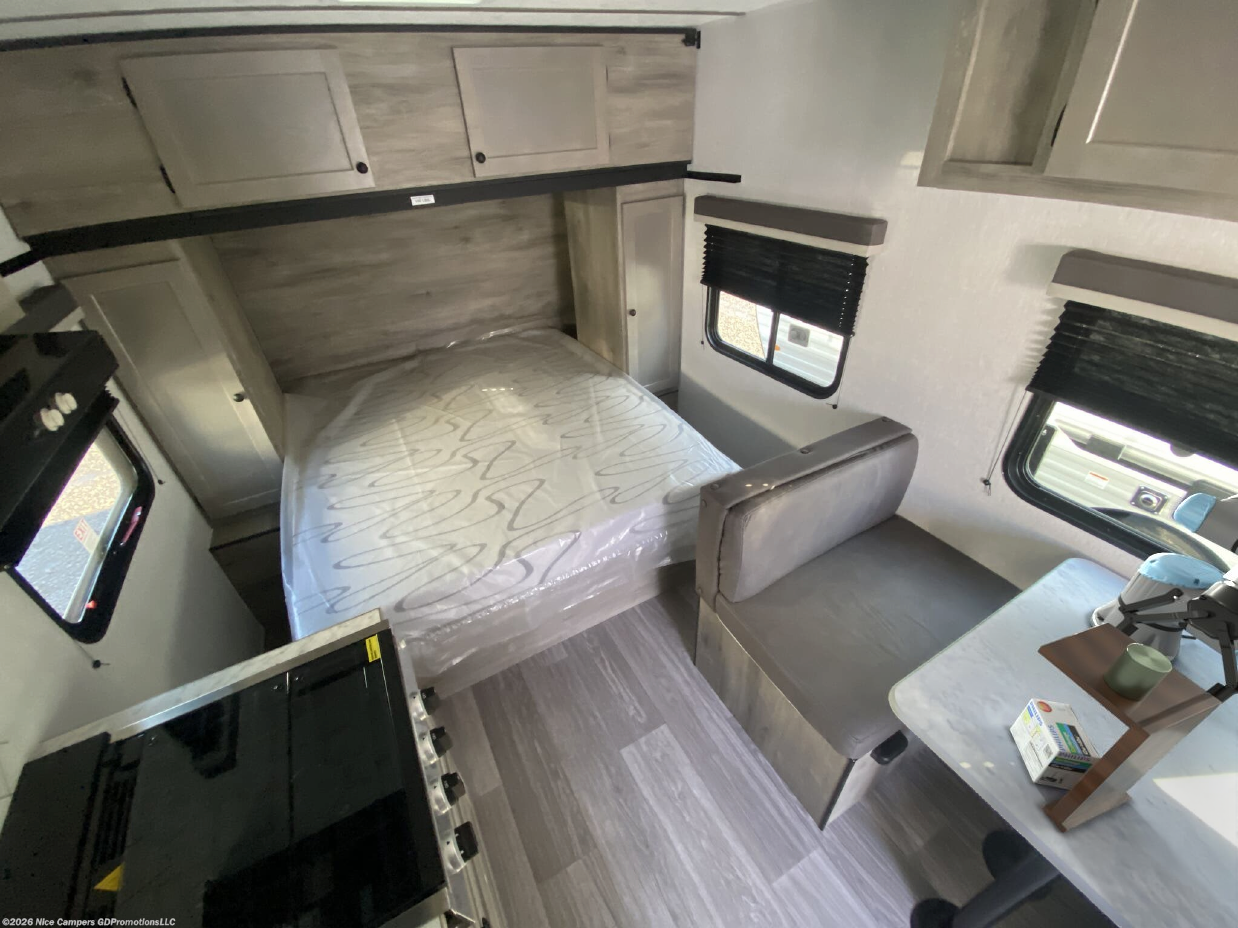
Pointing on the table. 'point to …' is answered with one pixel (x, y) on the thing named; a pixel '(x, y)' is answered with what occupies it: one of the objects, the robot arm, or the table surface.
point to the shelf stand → (1124, 714)
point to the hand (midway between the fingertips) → (1146, 677)
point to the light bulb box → (1053, 744)
